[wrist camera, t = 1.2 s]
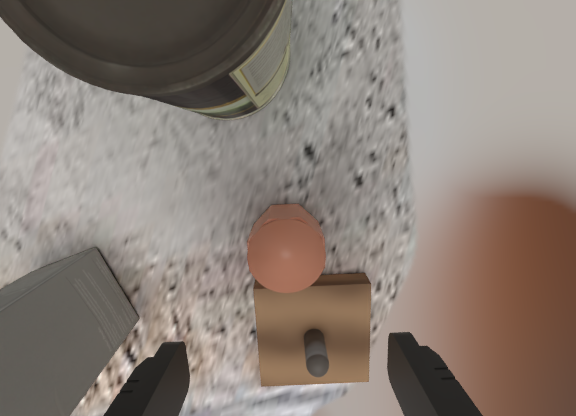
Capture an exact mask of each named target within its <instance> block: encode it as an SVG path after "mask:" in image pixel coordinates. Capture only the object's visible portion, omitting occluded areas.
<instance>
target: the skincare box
mask: <svg viewBox="0 0 576 416" xmlns="http://www.w3.org/2000/svg"><path fill="white" fill-rule="evenodd" d="M138 320H139V317H138V316H137V314H136V312H135V311H134V309H133V307H132V306H131V304H130V303H129V301H128V299H127V298H126V296H125V294H124V293H123V291H122V289H121V288H120V286H119V285H118V283H117V281H116V280H115V278H114V276H113V275H112V273H111V271H110V270H109V268H108V266H107V265H106V263H105V262H104V260H103V258H102V257H101V255H100V253H99V252H98V250H97V249H96V248H92V249H89V250H87V251H84V252H82V253H79V254H76V255H74V256H71V257H69V258H66V259H64V260H61V261H58V262H56V263H53V264H50V265H48V266H45V267H43V268H40V269H37V270H35V271H32V272H30V273H28V274H27V275H25V276H23V277H21V278H19V279H18V280H16V281H14V282H12V283H11V284H9V285H7V286H5V287H4V288H2V289H0V416H70V415H71V413H72V412H73V410H74V409H75V408H76V406H77V405H78V403H79V402H80V401H81V399H82V398H83V397H84V395H85V394H86V393H87V391H88V390H89V388H90V387H91V385H92V384H93V383H94V381H95V380H96V379H97V377H98V376H99V374H100V373H101V372H102V370H103V369H104V367H105V366H106V365H107V363H108V362H109V361H110V359H111V358H112V356H113V355H114V354H115V352H116V351H117V349H118V348H119V347H120V345H121V344H122V343H123V341H124V340H125V338H126V337H127V335H128V334H129V333H130V331H131V330H132V328H133V327H134V326H135V324H136V323H137V321H138Z"/></svg>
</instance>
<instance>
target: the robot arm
mask: <svg viewBox="0 0 576 416" xmlns="http://www.w3.org/2000/svg"><path fill="white" fill-rule="evenodd" d="M387 365H388V366H387V368H388V375H389V380H390V383H391V386H392V388H393V390H394V393H395V395H396V398H397V400H398V402H399V404H400V407H401V409H402V411H403V414H404V416H483V415H482V414H481V413H480V411H479V410H478V408H477V407H476V406H475V405H474V403H473V402H472V400H471V399H470V398H469V396H468V395H467V393H466V392H465V391H464V389H463V388H462V386H461V385H460V383H459V382H458V381H457V380H456V379H455V377H454V375H453V374H452V373H451V371H450V370H448V367H447V365H446V364H445V363H444V361H443V360H442V358H441V357H440V356H439V355H438V354H437V353H435V352H434V351H433V350H432V349H430V348H429V347H428V346H419V345H418V343H417V341H416V340H415V338H414V337H413V335H412V334H411V333H410V332H402V333H401V332H399V333H390V334H389V338H388V364H387ZM189 382H190V373H189V366H188V359H187V353H186V346H185V343H184V342H183V341H182V342H164V343H162V344H161V346H160V348H159V349H158V351H157V352H156V354H155V356H154V357H148V358H146V359H145V360H144V361H143V362H142V363H141V364H139V365H138V366H137V367H136V368H135V369H134V371H133V372H132V374H131V375H130V377H129V378H128V380H127V383H125V384H124V386H123V387H122V389H121V390H120V393H119V394H118V395H117V396H116V398H115V399H114V401H113V402H112V404H111V405H110V407H109V408H108V410H107V411H106V413H105V414H104V416H178V415H179V413H180V410H181V408H182V405H183V403H184V400H185V398H186V395H187V392H188V388H189Z"/></svg>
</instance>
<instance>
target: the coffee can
mask: <svg viewBox="0 0 576 416" xmlns="http://www.w3.org/2000/svg"><path fill="white" fill-rule="evenodd" d="M291 13H292V0H0V17H1V18H2V19H3V21H4V22H5V23H6V24H7V25H8V26H9V27H10V28H11V29H12V30H13V31H14V32H15V33H16V34H17V36H18V37H19V38H20V39H21V40H22V41H23V42H24V43H25V44H27V45H28V46H29V47H30V48H31V49H32V50H33V51H35V52H36V53H37V54H39V55H40V56H41V57H43V58H44V59H45V60H47V61H48V62H50V63H51V64H52V65H54V66H55V67H57V68H59V69H60V70H62V71H64V72H65V73H67V74H69V75H71V76H73V77H76V78H78V79H80V80H82V81H84V82H87V83H89V84H92V85H94V86H98V87H101V88H104V89H107V90H111V91H115V92H120V93H125V94H131V95H138V96H143V97H147V98H150V99H153V100H157V101H160V102H164V103H167V104H170V105H174V106H177V107H180V108H183V109H186V110H190V111H193V112H197V113H199V114H201V115H203V116H206V117H209V118H213V119H218V120H235V119H240V118H244V117H247V116H250V115H252V114H254V113H256V112H258V111H259V110H261V109H262V108H264V107H265V106H266V105H267V104H268V103H269V102H270V101H271V100H272V99H273V98H274V97H275V95H276V94H277V93H278V91H279V90H280V88H281V86H282V84H283V82H284V80H285V77H286V74H287V71H288V67H289V62H290V30H291Z"/></svg>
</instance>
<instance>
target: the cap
mask: <svg viewBox="0 0 576 416" xmlns="http://www.w3.org/2000/svg"><path fill="white" fill-rule="evenodd" d="M247 247H248V254H247V260H248V265H249V271H250V272H251V273H252V275H253V276H254V278H255V279H256V280H257V281H258V282H259V283H260V284H261V285H263V286H264V287H266V288H267V289H269V290H272V291H275V292H279V293H294V292H298V291H301V290H303V289H305V288H307V287H309V286H310V285H312V284H313V283H314V282H315V281H316V280H317V279H318V278H319V276H320V275H321V273H322V271H323V269H324V268H325V260H326V253H325V238H324V236H323V233H322V231H321V228H320V226H319V223H318V221H317V220H316V219H315V218H314V217H313V216H312V215H310V214H309V213H308V212H307V211H306V210H305V209H304V208H303V207H301V206H300V205H299V204H280V205H271V206H270V207H269V208H268V209H267V210H266V211H265V212H264V214H263V215H262V216H261V217H260V218H259V219H258V220H257V221H256V222H255V223H254V225H253V228H252V230H251V233H250V235H249V238H248V241H247Z"/></svg>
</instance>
